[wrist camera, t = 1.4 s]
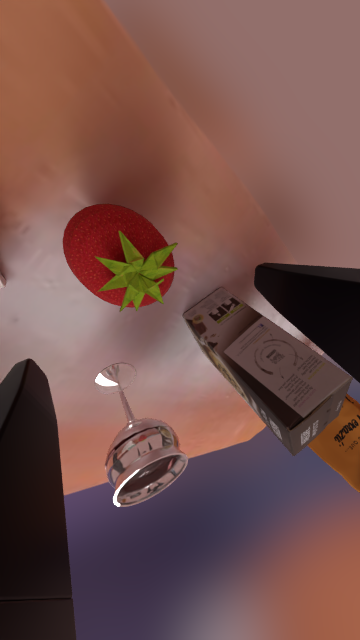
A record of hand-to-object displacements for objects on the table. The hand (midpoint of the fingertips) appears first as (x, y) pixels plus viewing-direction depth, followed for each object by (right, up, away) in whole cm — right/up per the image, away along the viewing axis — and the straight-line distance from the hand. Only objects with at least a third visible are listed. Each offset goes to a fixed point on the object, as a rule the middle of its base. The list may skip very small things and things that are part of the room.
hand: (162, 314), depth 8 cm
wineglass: (-7, -7, +19) cm, 22 cm away
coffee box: (+5, -1, +22) cm, 23 cm away
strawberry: (-6, +7, +10) cm, 13 cm away
